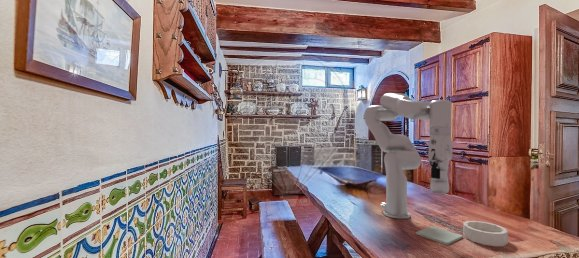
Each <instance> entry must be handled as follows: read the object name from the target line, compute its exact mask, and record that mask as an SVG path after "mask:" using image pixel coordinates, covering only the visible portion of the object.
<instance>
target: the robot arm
mask: <svg viewBox="0 0 579 258" xmlns="http://www.w3.org/2000/svg"><path fill="white" fill-rule="evenodd" d="M379 103H380V105H377V104H376V105H369V106H368V107H366V108H365V110H364V112H363V113H364V114H363V116H364V117H363V118H364V119H363V120H364V122H365V125H366V127H367V129H368V130H369V131H370V132H371V134H372V135H373V137H374V139H375V141H376V142H377V145H378V147H379V149H380V150H381V151H382V152H384V153H385V154H384V157H383V161H384V168H385V182H386V183H385V184H386V185H385V188H386V189H385V194H386V195H385V197H386V198H385V202H381V204H380V208H383V211H382V214H383V215H384V216H385V217H388V218H392V219H401V220H404V219H405V220H406V219H409V218H411V212H409V211H408V178H407V176H406V174H405V172H404V171H405V170H407V171H408V170H416V169H418V168H419V167H420V166H421V164H422V158H421V155H420V154H419V152H418V150H417V148H416V147H415V145H414V144H413V142H412V141H411V139H410V137H408V136H407V135H405V134H399V133H397V134H396V133H392V132H391V130H390V129H389V127H388V126H387V125H386V124H385V123H383V122H391V121H395V120H396V119H397V118H399V117H403V118H405V119H409V120H429V121H428V122H429V126H428V127H429V129H428V131H429V134H428V136H429V140H428V161H427V162H429V165H430V168H431V169H430V171H431V172H430V178H431V179H432V178H436V179H440V168H439V165H440V161H445V160H446V159H445V157H446V154H447V153H448V154H449V156H450V159H449V161H451V160H453V155H454V154H453V141H452V102H451V101H450V100H448V99H437V100H431V101H421V100H420V101H419V100H417V101H416V100H412V99H411V97H410V96H408V95H407V94H406V93H401V92H400V93H397V92H395V93H394V92H387V93H384V94H383V95H382V96H381V97H380V100H379ZM434 158H437V159H438V160H434ZM436 162H437V164H436ZM449 166H450V165H449V164H448V168H449Z"/></svg>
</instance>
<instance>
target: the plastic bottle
mask: <svg viewBox="0 0 579 258" xmlns="http://www.w3.org/2000/svg"><path fill="white" fill-rule="evenodd" d="M445 159H446V160H445V161H440V165H439V168H440V179H436V178H431V180H430V183H429V184H430V185H429V187H430V191H431V192H432V193H434V194H438V195H443V194H448V193H449V190H450V184H449V167H448V164H449V163H450V160H449V159H450V156H449V154H448V153H447V154H446V157H445ZM434 160H438V159H437V158H434ZM436 164H437V162H436Z"/></svg>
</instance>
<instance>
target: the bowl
mask: <svg viewBox="0 0 579 258" xmlns="http://www.w3.org/2000/svg"><path fill="white" fill-rule="evenodd" d="M462 224H463V225H462V236H463V238H465V239H467V240H469V241H470V242H474V243H476V244H479V245H485V246H491V247H505V246H506V245H508V244H509V231H508V230H507V229H506V228H505V227H503V226H500V225H498V224H495V223H492V222H486V221H479V220H467V221H464V222H462Z"/></svg>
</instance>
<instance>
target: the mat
mask: <svg viewBox="0 0 579 258" xmlns="http://www.w3.org/2000/svg"><path fill="white" fill-rule="evenodd" d="M415 235H418V236H420V237H422V238H426V239H429V240H432V241H435V242H437V243H440V244H444V245H446V246H448V245H451V244H452V243H455V242H457V241H459V240H461V239H463V238H464V235H463V234H458V233H456V232H453V231H449V230H445V229H442V228H439V227H436V226H433V225H431V226H429V227H426V228H424V229H420V230H418V231H416V232H415Z"/></svg>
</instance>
